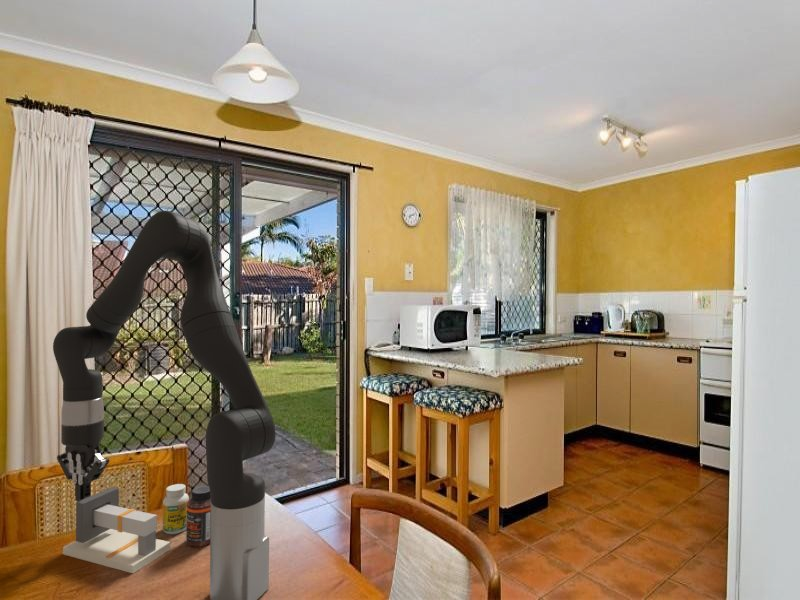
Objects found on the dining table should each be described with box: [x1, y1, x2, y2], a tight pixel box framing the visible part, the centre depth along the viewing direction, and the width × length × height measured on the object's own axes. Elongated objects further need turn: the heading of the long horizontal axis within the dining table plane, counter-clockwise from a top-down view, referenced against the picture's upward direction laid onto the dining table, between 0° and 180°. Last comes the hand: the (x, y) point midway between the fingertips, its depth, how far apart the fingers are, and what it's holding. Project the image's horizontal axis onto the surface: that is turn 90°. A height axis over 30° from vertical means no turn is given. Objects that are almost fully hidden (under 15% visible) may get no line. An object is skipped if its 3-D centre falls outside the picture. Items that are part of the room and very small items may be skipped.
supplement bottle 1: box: [162, 483, 190, 535], centre depth 105 cm, size 5×5×10 cm
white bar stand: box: [62, 504, 171, 574], centre depth 96 cm, size 19×9×9 cm, turn 71°
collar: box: [75, 486, 120, 543], centre depth 98 cm, size 2×8×8 cm, turn 161°
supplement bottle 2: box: [185, 485, 211, 547], centre depth 101 cm, size 6×6×11 cm
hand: (82, 499), depth 99 cm, fingers closed
